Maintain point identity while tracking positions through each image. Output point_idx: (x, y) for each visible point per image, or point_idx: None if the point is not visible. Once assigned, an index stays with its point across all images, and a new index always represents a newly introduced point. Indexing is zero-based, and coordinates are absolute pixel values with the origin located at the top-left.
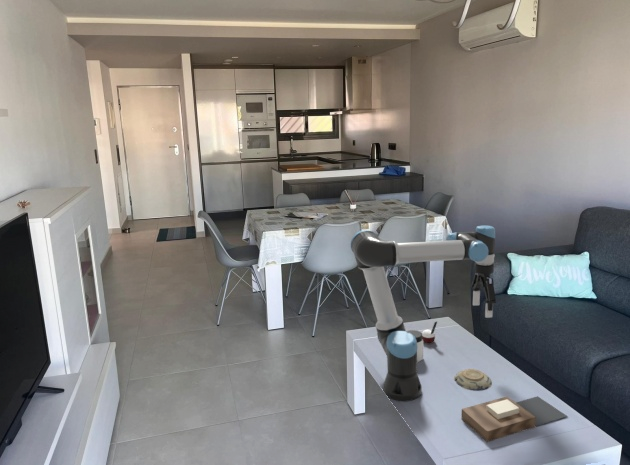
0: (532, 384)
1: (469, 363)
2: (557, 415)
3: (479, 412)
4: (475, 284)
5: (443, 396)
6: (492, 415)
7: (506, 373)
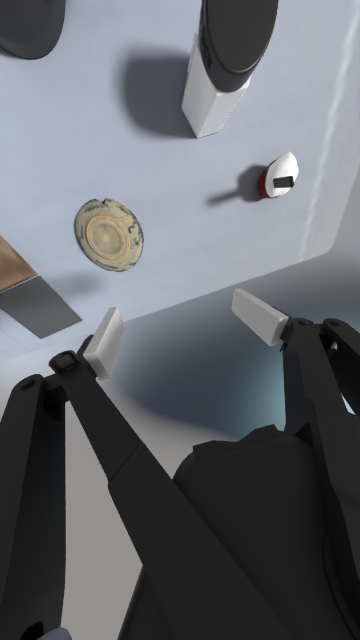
0: None
1: (173, 250)
2: (37, 330)
3: None
4: (315, 360)
5: (20, 138)
6: None
7: (142, 299)
